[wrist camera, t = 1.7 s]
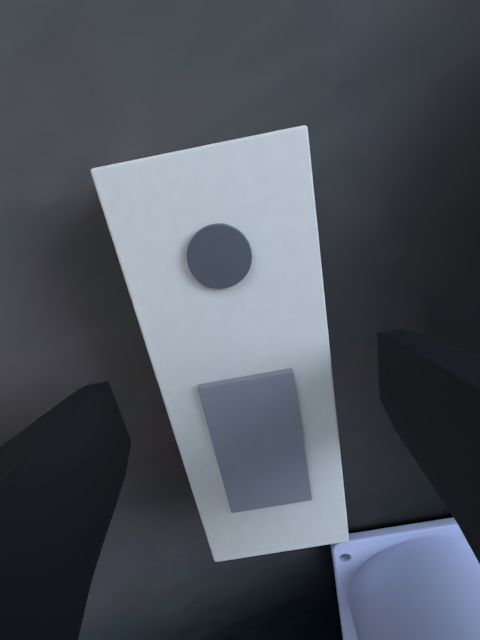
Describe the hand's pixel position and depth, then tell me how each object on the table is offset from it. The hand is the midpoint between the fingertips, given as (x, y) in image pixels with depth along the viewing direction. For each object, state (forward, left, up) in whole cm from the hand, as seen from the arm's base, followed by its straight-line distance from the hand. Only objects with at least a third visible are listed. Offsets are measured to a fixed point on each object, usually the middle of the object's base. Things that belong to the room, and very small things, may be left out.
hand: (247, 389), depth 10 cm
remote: (0, 0, -3) cm, 3 cm away
